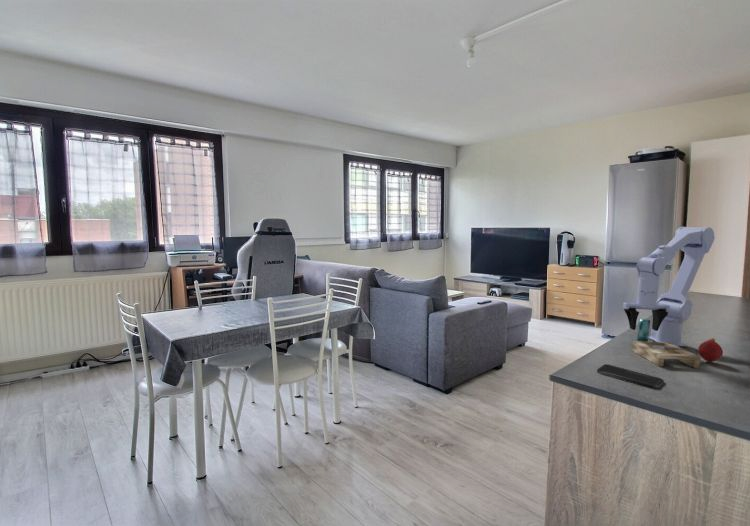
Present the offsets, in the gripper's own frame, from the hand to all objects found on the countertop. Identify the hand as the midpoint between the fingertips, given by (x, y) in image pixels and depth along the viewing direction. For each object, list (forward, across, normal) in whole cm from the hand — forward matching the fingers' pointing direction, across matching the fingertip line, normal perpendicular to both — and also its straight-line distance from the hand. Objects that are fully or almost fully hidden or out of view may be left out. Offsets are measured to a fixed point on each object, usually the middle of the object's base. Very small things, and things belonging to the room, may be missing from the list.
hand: (643, 329), depth 137 cm
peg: (+6, 0, 0) cm, 7 cm away
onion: (+7, -13, +13) cm, 20 cm away
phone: (+7, +20, +28) cm, 36 cm away
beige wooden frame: (+7, 0, +11) cm, 13 cm away
